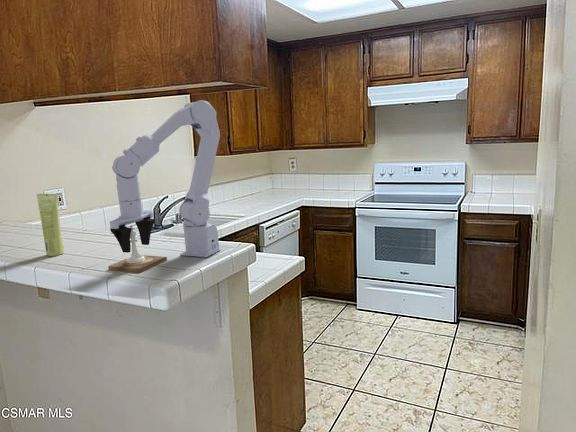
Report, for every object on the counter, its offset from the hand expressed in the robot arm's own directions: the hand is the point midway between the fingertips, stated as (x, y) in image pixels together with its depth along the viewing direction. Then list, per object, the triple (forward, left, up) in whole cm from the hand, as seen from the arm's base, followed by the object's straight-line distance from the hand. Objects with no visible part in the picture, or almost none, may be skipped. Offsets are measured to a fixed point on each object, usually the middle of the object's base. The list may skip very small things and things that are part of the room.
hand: (136, 248), depth 121 cm
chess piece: (+1, 0, -4) cm, 4 cm away
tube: (+36, -3, -5) cm, 36 cm away
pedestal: (0, 0, -5) cm, 5 cm away
